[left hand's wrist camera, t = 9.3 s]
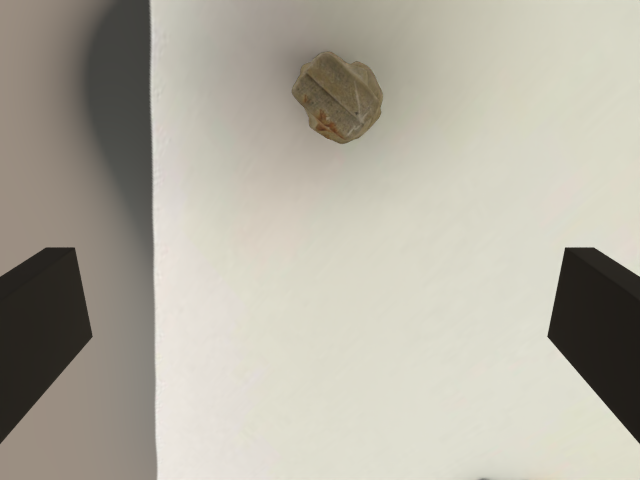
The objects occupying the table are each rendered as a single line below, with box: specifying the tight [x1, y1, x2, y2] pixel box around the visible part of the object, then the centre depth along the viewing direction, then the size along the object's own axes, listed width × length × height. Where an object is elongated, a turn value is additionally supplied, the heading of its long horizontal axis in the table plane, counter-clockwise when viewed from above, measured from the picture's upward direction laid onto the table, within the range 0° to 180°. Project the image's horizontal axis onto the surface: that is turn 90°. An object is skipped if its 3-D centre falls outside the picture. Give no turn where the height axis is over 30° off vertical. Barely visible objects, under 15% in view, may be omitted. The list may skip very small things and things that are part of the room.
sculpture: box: [292, 52, 383, 144], centre depth 34 cm, size 6×7×15 cm
